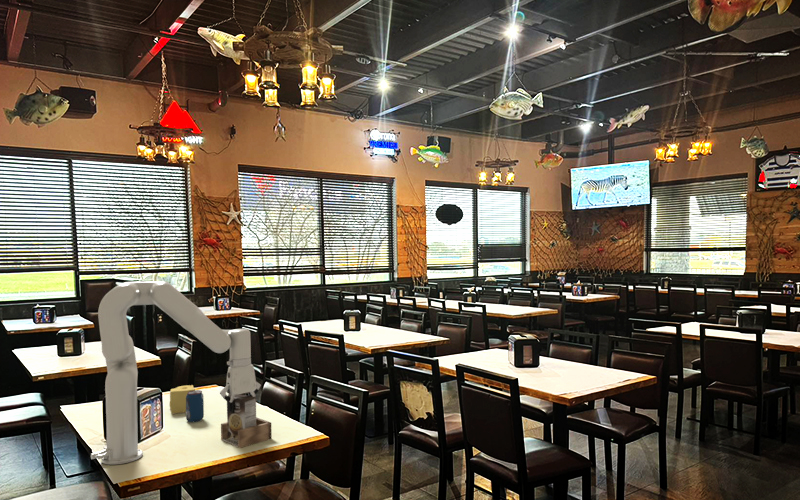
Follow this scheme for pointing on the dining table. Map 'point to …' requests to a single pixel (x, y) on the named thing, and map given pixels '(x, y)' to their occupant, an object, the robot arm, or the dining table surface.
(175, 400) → the cheese
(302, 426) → the dining table surface
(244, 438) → the walnut caddy
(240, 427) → the coffee box
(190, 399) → the soda can
